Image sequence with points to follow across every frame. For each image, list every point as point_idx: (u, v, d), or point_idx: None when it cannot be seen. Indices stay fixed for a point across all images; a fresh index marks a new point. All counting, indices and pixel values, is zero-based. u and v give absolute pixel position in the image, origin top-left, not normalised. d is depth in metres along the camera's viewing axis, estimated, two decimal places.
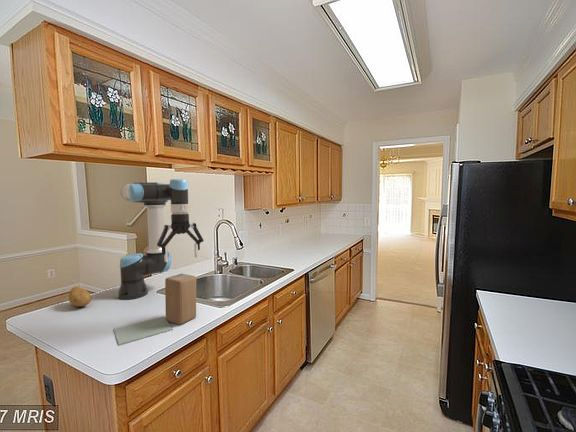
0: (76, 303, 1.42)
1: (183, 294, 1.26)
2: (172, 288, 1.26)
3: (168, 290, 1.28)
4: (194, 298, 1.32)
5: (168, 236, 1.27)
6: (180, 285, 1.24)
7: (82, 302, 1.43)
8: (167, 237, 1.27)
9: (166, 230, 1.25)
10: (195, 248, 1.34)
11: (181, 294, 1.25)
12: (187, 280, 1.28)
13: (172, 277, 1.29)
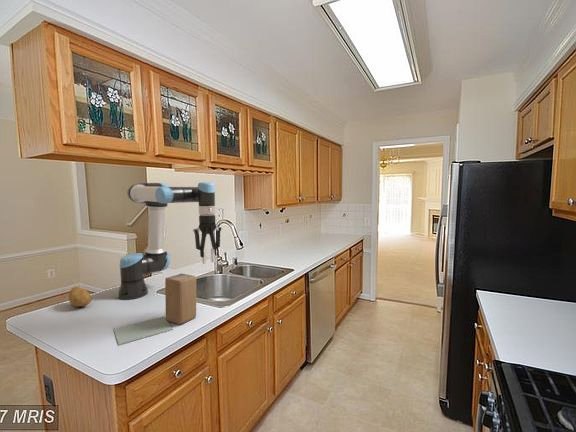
0: (76, 303, 1.42)
1: (183, 294, 1.26)
2: (172, 288, 1.26)
3: (168, 290, 1.28)
4: (194, 298, 1.32)
5: (201, 239, 1.36)
6: (180, 285, 1.25)
7: (82, 302, 1.43)
8: (201, 240, 1.36)
9: (197, 234, 1.33)
10: (212, 253, 1.39)
11: (181, 294, 1.25)
12: (187, 280, 1.28)
13: (172, 277, 1.29)
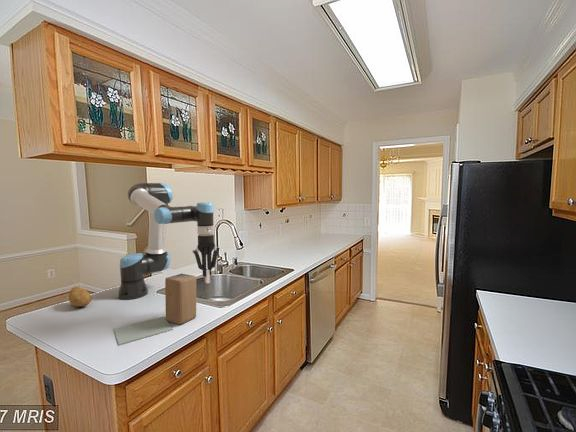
0: (76, 303, 1.42)
1: (183, 294, 1.26)
2: (172, 288, 1.26)
3: (168, 290, 1.28)
4: (194, 298, 1.32)
5: (202, 259, 1.37)
6: (180, 285, 1.25)
7: (82, 302, 1.43)
8: (202, 260, 1.37)
9: (197, 254, 1.33)
10: None
11: (181, 294, 1.25)
12: (187, 280, 1.28)
13: (172, 277, 1.29)
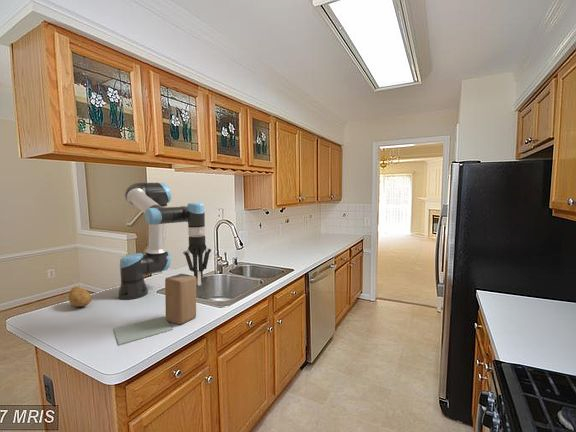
0: (76, 303, 1.42)
1: (183, 294, 1.26)
2: (172, 288, 1.26)
3: (168, 290, 1.28)
4: (194, 298, 1.32)
5: (193, 260, 1.34)
6: (180, 285, 1.25)
7: (82, 302, 1.43)
8: (193, 261, 1.34)
9: (188, 256, 1.31)
10: None
11: (181, 294, 1.25)
12: (187, 280, 1.28)
13: (172, 277, 1.29)
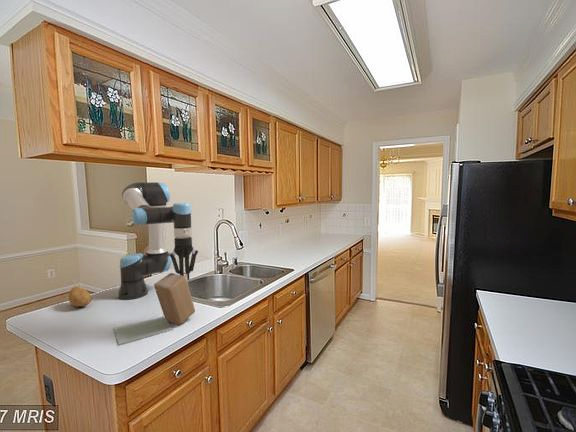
0: (76, 303, 1.42)
1: (176, 298, 1.22)
2: (163, 294, 1.21)
3: (159, 295, 1.23)
4: (189, 297, 1.28)
5: (179, 262, 1.30)
6: (170, 292, 1.19)
7: (82, 302, 1.43)
8: (179, 263, 1.31)
9: (174, 258, 1.27)
10: None
11: (173, 299, 1.21)
12: (176, 284, 1.22)
13: (160, 282, 1.23)
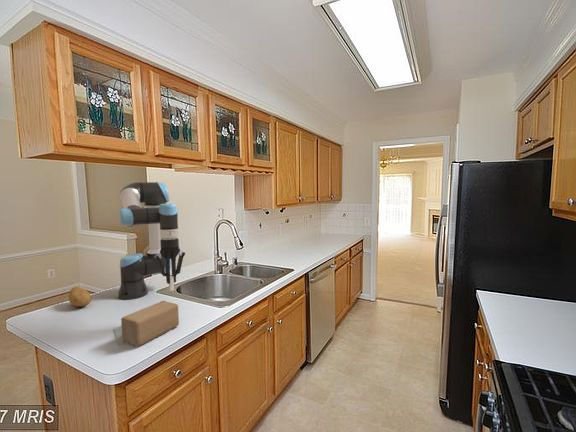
0: (76, 303, 1.42)
1: (152, 334, 1.13)
2: None
3: None
4: (160, 315, 1.16)
5: (165, 264, 1.27)
6: (142, 343, 1.09)
7: (82, 302, 1.43)
8: (165, 266, 1.27)
9: (159, 260, 1.23)
10: None
11: (151, 338, 1.13)
12: (138, 335, 1.08)
13: (125, 337, 1.11)
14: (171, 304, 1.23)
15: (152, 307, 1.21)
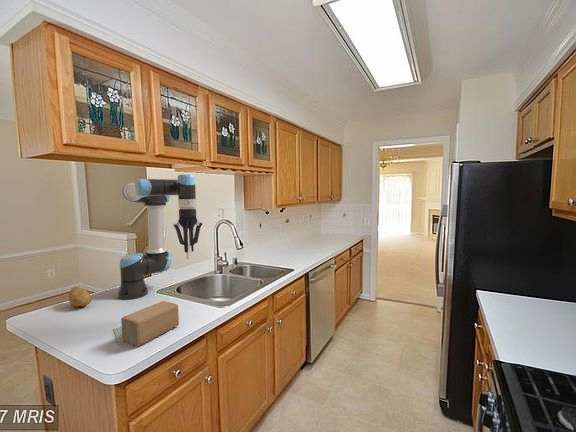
0: (76, 303, 1.42)
1: (152, 334, 1.13)
2: None
3: None
4: (160, 315, 1.16)
5: (183, 234, 1.31)
6: (142, 343, 1.09)
7: (82, 302, 1.43)
8: (183, 235, 1.31)
9: (178, 228, 1.27)
10: None
11: (151, 338, 1.13)
12: (138, 335, 1.08)
13: (125, 337, 1.11)
14: (171, 304, 1.23)
15: (152, 307, 1.21)
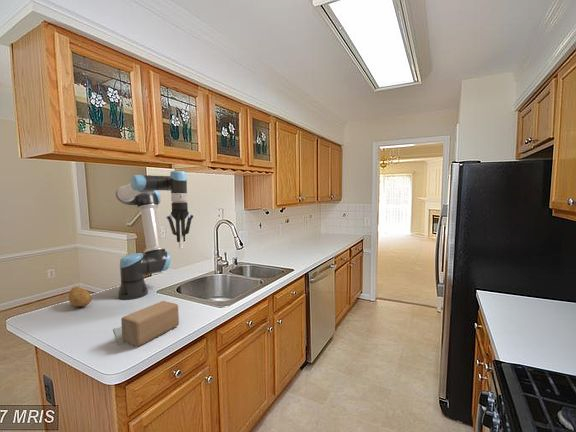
0: (76, 303, 1.42)
1: (152, 334, 1.13)
2: None
3: None
4: (160, 315, 1.16)
5: (176, 225, 1.44)
6: (142, 343, 1.09)
7: (82, 302, 1.43)
8: (176, 226, 1.44)
9: (171, 220, 1.41)
10: None
11: (151, 338, 1.13)
12: (138, 335, 1.08)
13: (125, 337, 1.11)
14: (171, 304, 1.23)
15: (152, 307, 1.21)
